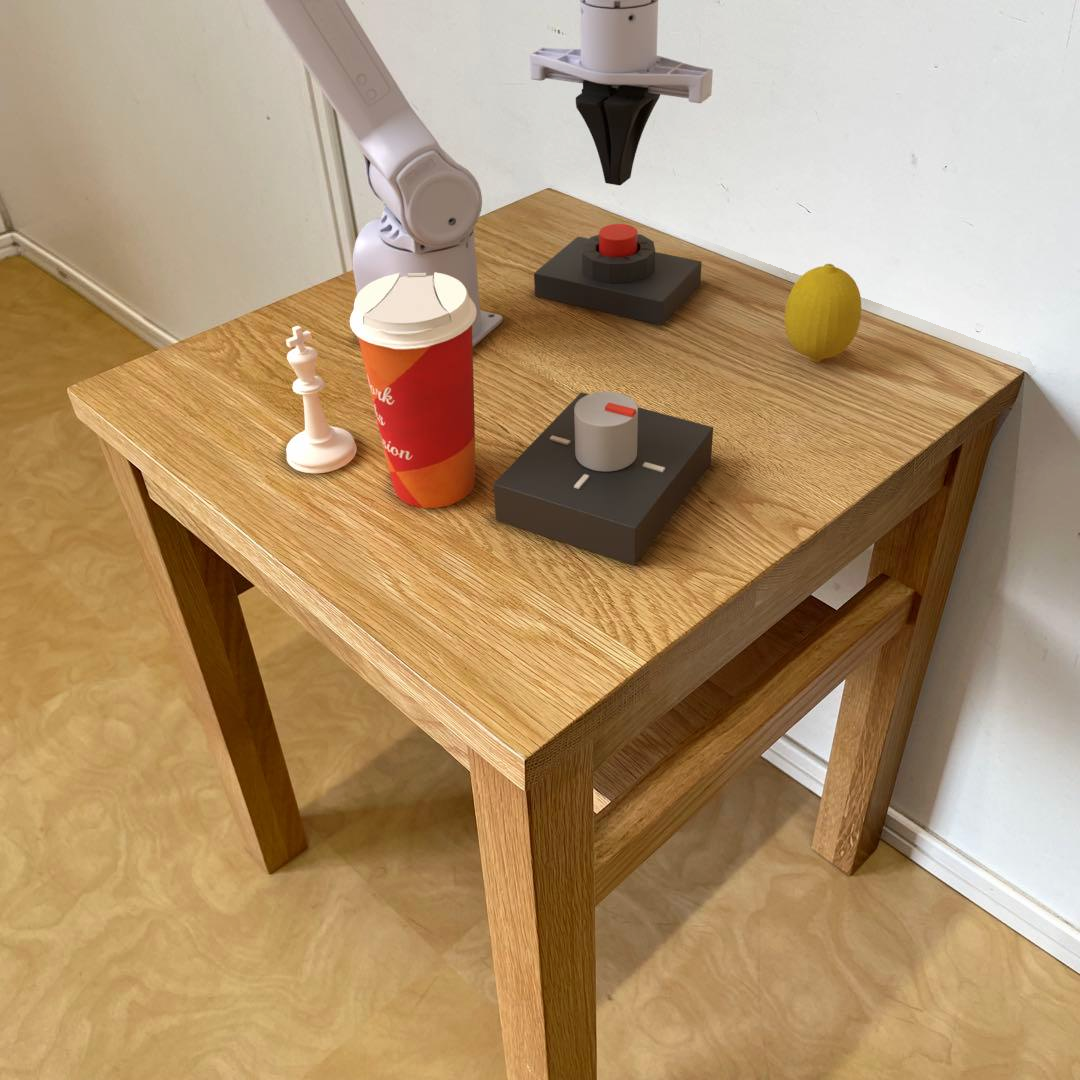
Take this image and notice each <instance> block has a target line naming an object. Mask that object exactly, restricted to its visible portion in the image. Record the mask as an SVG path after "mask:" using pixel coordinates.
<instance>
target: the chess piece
mask: <svg viewBox="0 0 1080 1080" xmlns="http://www.w3.org/2000/svg"><path fill="white" fill-rule="evenodd" d="M291 330H292V334H293V336H291V337H289V338H286V339H285V343H286V347H288V348H290V349H291V350H290V351H288V352H287V354H286V359H287V361H288V363H289V365H290V366H291V367H292V370H293V371H294V373H295V376H297V379H295V380H294V381H293V383H292V391H293V392H294V393H295V394H297V395H300V396H302V400H303V413H304V414H303V415H304V430H302V431H301V432H299V433H297V434H296V435H294V436H293V437H292V438H291V439H290V440H289V441H288V443H287V444H286V450H285V451H286V452H285V453H286V461H287V463H288V465H289V466H290V467H291V468H293V469H294V470H295V471H297V472H301V473H304V474H305V473H306V474H324V473H325V474H326V473H330V472H333V471H336V470H339V469H341V468H342V467H344V466H346V465H348V464H349V463H350V462H351V461H353V459H354V458H355V456H356V454H357V450H358V448H357V444H356V442H355V439H354V436H353V435H352V433H350V432H349V431H348V430H346V429H344V428H341V427H338V426H332V425H329V423H328V421H327V419H326V415H325V412H324V410H323V406H322V404H321V400H320V397H319V395H318V393H319V392H320V391H322V390H323V389H324V387H325V382H324V381H323V380H324V379H322V377H320V376H318V375H315V374H316V367H317V362H318V354H319V353H318V351H317V350H316V349H315V348H314V347H311V346H307V345H306V344H305V342H307V341H309V340H312V339H313V336H312V332H310V331H309V330H305V331H303V329H302V327H301V326H299V325H295V326H293V327H291Z"/></svg>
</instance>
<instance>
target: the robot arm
mask: <svg viewBox="0 0 1080 1080" xmlns="http://www.w3.org/2000/svg"><path fill="white" fill-rule="evenodd" d="M579 2H580V4H579V5H580V7H579V8H580V48H556V47H555V48H553V47H545V46H543V47H540V48H538V49H537V50H535V51H533V52H531V53H530V54H529V71H530V72H529V73H530V80H532V81H544V80H547V79H549V80H555V81H562V82H570V83H577V84H582V89H581V93H580V94H577V96H575V107H576V110H577V111H578V112H579V114H580V116H581V117H582V119H583V121H584V122H585V125H586V127H587V129H588V130H589V133H590V135H591V137H592V140H593V142H594V145H595V148H596V151H597V155H598V158H599V162H600V165H601V170H602V174H603V177H604V178H603V179H604V183H605V184H608V185H613V186H622V185H624V183H626V182H627V181H628V180H629V179H631V178H632V177H631V176H632V172H633V166H634V162H635V157H636V154H637V150H638V147H639V144H640V141H641V139H642V136H643V133H644V130H645V128H646V126H647V123H648V121H649V118H650V117H651V114H652V112H653V110H654V109H655V106H656V104H657V102H658V101H659V100H660V98H661V95H662V96H669V97H676V98H683V99H688V102H690V103H694V104H702V103H703V102H705V101H706V100H707V99H709V98H710V97H711V96H712V91H713V89H712V88H713V72H714V70H713V69H712V68H708V67H701V66H696V65H692V64H688V63H685V62H682V61H678V60H676V59H675V60H674V59H671V58H669V57H664V56H661V55H658V28H659V27H658V25H659V24H658V23H659V22H658V20H659V0H579ZM260 3H262V5H263V7H264V8H265V9H266V11H267V12H268V14H269V16H270V17H271V18H272V20H273V21H274V22H275V25H276V26H277V27H278V28H279V30H280V32H281V33H282V35H283V36H284V38H285V39H286V40H287V42H288V44H289V45H290V46H291V48H292V49H293V51H294V52H295V54H296V55H297V57H298V58H299V60H300V61H301V62H302V64H303V65H304V67H305V69H306V70H307V71H308V73H309V74H310V76H311V77H312V79H313V80H314V82H315V83H316V84H317V86H318V87H319V89H320V90H321V92H322V93H323V95H324V97H325V98H326V99H327V101H328V102H329V104H330V105H331V107H332V108H333V110H334V111H335V113H336V114H337V116H338V117H339V119H340V120H341V121H342V123H343V124H344V126H345V127H346V129H347V130H348V133H349V135H350V138H351V140H352V142H353V144H354V145H355V146H356V147H357V149H358V151H359V153H360V155H361V156H362V160H363V164H364V172H365V179H366V182H367V184H368V187H369V189H370V190H371V192H372V194H374V196H375V197H376V198H378V199H379V200H380V201H381V202H383V210H382V213H381V217H380V218H374V219H372V220H370V221H368V222H367V223H366V224H365V225H364V226H363V227H362V228H361V230H360V232H359V233H358V235H357V237H356V240H355V242H354V245H353V250H352V251H353V252H352V270H353V271H352V272H353V277H354V283H355V289H356V296H357V295H358V293H359V292H360V291H361V289H363V288H364V287H365V286H366V285H368V284H370V283H371V282H373V281H375V280H377V279H380V278H383V277H385V276H389V275H393V274H397V273H400V276H408V273H426V276H429V275H433V279H434V273H435V272H436V273H441V274H445V275H448V276H451V277H453V278H455V279H457V280H459V281H460V282H461V283H462V284H463V285H464V287H465V288H466V289H467V292H468V295H469V297H470V298H471V300H472V301H473V303H474V304H475V306H476V310H477V315H476V318H475V320H474V322H473V324H472V344H473V347H475V346H476V345H477V344H479V343H480V342H481V341H482V340H483V339H484V338H486V336H488V335H489V334H490V333H491V332H492V331H493V330H495V328H497V327H498V326H499V325H500V324H502V322H503V315H501V314H498V313H494V312H489V311H485V310H481V302H480V301H481V299H480V289H479V276H478V264H477V263H478V262H477V253H476V252H477V250H476V239H475V226H476V225H477V223H478V221H479V218H480V215H481V212H482V208H483V196H482V191H481V190H482V189H481V186H480V185H479V182H478V179H476V177H475V175H473V174H472V171H470V170H469V169H467V168H466V167H464V166H463V165H461V164H460V163H458V162H457V161H456V160H455V159H453V157H452V156H450V154H448V153H447V152H446V150H444V149H443V148H442V147H441V145H440V144H439V142H438V141H437V139H436V138H435V137H434V136H433V134H432V132H431V131H430V130H429V129H428V127H427V126H426V124H425V123H424V122H423V121H422V119H421V118H420V117H419V115H418V114H417V113H416V112H415V110H414V109H413V108H412V106H411V104H410V103H409V101H408V100H407V98H406V96H405V95H404V93H403V91H402V90H401V88H400V87H399V85H398V83H397V82H396V81H395V78H394V76H393V75H392V73H391V72H390V71H389V68H388V67H387V66H386V64H385V63H384V61H383V59H382V58H381V56H380V54H379V53H378V51H377V49H376V48H375V46H374V44H373V43H372V41H371V39H370V38H369V37H368V35H367V33H366V32H365V30H364V28H363V26H362V25H361V24H360V22H359V20H358V19H357V17H356V15H355V14H354V12H353V11H352V9H351V8H350V5H349V4H348V2H347V1H346V0H260ZM356 337H357V339H358V336H357V335H356Z"/></svg>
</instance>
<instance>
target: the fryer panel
mask: <svg viewBox="0 0 1080 1080" xmlns="http://www.w3.org/2000/svg"><path fill="white" fill-rule="evenodd" d="M589 394H590V393H585V392H580V393H579V394H578V395H577V396H576V397H575V398H573V400H572V401H571V402H570V403H569V404H568V405H567V407H565V408H564V409H563V411H562V412H561V413H559V415H558V416H557V417H555V418H554V420H552V422H551V423H550V424H549V425H548V426H547V427H546V428H545V429H544V430H543V431H542V432H541V433H540V434H539V435H538V436H537V437H536V438H535V439H534V441H532V442H531V444H530V445H529V446H528V447H527V448H526V449H525V450H524V451H523V452H522V453H521V454H520V455H519V456H518V457H517V458H516V459H515V460H514V461H513V462H512V463H511V465H509V466H508V467H507V468H506V469H505V470H504V472H502V474H501V475H500V476H499V477H498V478H497V479H496V480H495V481H494V482H493V483H492V490H493V491H492V492H493V501H494V513H495V521H497V522H500V523H503V524H506V525H509V526H511V527H515V528H518V529H521V530H524V531H527V532H531V533H534V534H536V535H539V536H543V537H546V538H548V539H552V540H556V541H558V542H561V543H564V544H567V545H570V546H573V547H576V548H579V549H583V550H585V551H589V552H591V553H594V554H598V555H601V556H604V557H607V558H610V559H613V560H616V561H619V562H621V563H625V564H629V565H631V566H636V565H637V563H638V562H639V561H640V560H641V558H642V557H643V555H644V554H645V553H646V551H647V550H648V549H649V547H650V546H651V544H652V543H653V542H654V541H655V540H656V538H657V537H658V535H659V534H660V533H661V531H662V530H663V529H664V527H665V526H666V524H667V523H668V522H669V521H670V520H671V518H672V516H673V515H674V513H675V512H676V511H677V510H678V508H679V507H680V505H682V503H683V501H684V500H685V499H686V498H687V496H688V495H689V493H690V492H692V490H693V488H694V487H695V485H696V484H697V483H698V481H699V480H700V479H701V477H702V476H703V474H704V473H705V472H706V471H707V469H708V468H709V466H711V463H712V453H713V437H714V427H713V426H711V425H707V424H703V423H700V422H697V421H692V420H688V419H684V418H680V417H676V416H672V415H669V414H665V413H661V412H658V411H654V410H650V409H646V408H643V407H638V406H637V407H638V431H637V457H636V459H635V460H634V462H633V463H632V464H631V465H629V466H628V467H626V468H623V469H621V470H617V471H610V472H602V471H595V470H591V469H589V468H586V467H584V466H583V465H581V464H580V463H579V462H578V460H577V458H576V455H575V420H574V408H575V405H576V403H577V402H578V401H579V400H580V399H581V398H583V397H584V396H587V395H589Z"/></svg>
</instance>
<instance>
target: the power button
mask: <svg viewBox="0 0 1080 1080" xmlns="http://www.w3.org/2000/svg"><path fill="white" fill-rule="evenodd" d="M637 234H638V229H637V228H636V227H634V226H633V225H630V224H625V223H613V224H608V225H605V226H603V227H602V228H601V229H599V231H598V235H599V253H600V254H602V255H604V256H609V257H613V258H614V257H627V256H630V255H633V254H636V253H637Z"/></svg>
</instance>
